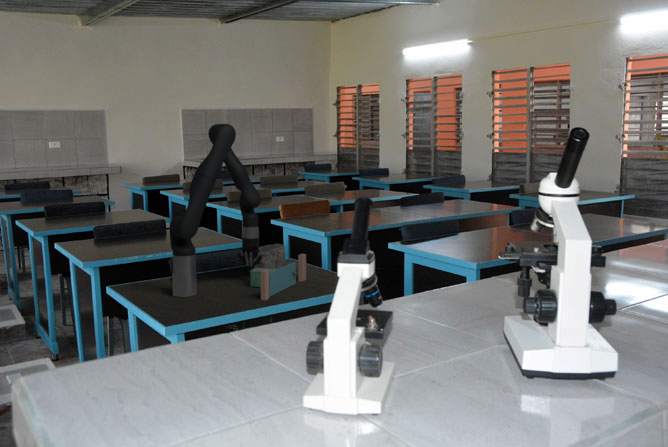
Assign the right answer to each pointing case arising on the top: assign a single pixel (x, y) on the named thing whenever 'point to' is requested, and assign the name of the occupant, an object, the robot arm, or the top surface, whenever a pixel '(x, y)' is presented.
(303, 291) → the top surface
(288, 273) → the door
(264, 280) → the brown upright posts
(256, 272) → the box
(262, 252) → the petrified wood
